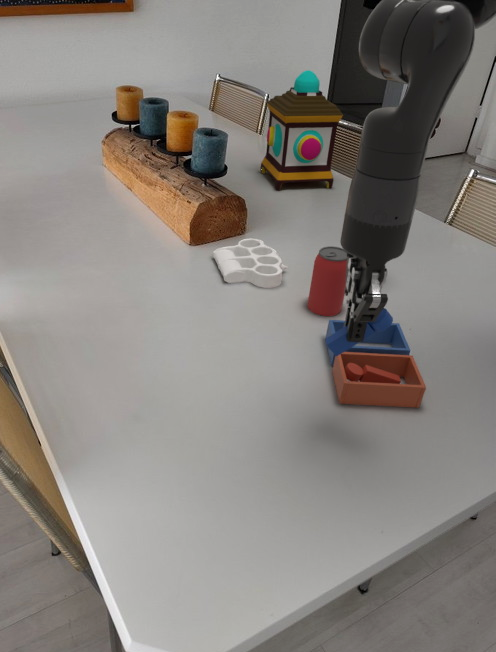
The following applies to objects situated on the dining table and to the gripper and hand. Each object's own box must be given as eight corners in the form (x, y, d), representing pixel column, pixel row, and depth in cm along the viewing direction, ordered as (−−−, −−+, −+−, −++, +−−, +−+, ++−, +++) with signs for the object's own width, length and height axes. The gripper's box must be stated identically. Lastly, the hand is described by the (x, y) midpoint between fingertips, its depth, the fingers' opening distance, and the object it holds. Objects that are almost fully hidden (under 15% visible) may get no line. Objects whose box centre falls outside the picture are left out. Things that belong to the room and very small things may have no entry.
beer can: (299, 306, 106) (308, 249, 99) (324, 298, 109) (334, 242, 102) (323, 322, 102) (334, 263, 95) (348, 312, 105) (360, 255, 98)
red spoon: (390, 383, 87) (398, 372, 86) (394, 395, 85) (402, 384, 84) (341, 368, 85) (348, 356, 84) (344, 379, 83) (351, 367, 82)
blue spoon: (337, 359, 73) (327, 348, 72) (334, 347, 75) (324, 336, 74) (395, 323, 70) (385, 311, 68) (390, 312, 72) (381, 300, 71)
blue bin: (393, 344, 97) (399, 323, 94) (403, 372, 91) (410, 350, 88) (324, 340, 97) (328, 319, 94) (330, 368, 91) (335, 346, 88)
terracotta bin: (405, 377, 90) (412, 355, 87) (418, 410, 83) (426, 387, 80) (331, 373, 90) (336, 351, 87) (338, 406, 83) (343, 383, 80)
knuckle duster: (209, 254, 123) (271, 250, 126) (227, 293, 109) (296, 288, 112) (210, 240, 121) (272, 236, 124) (228, 278, 107) (298, 273, 110)
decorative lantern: (338, 192, 159) (358, 77, 141) (273, 194, 155) (285, 77, 137) (314, 170, 175) (329, 64, 156) (254, 172, 171) (263, 63, 152)
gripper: (429, 235, 57) (392, 368, 67) (398, 190, 67) (370, 310, 78) (357, 233, 57) (332, 366, 67) (337, 188, 67) (318, 309, 78)
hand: (352, 336), depth 73 cm, fingers closed on blue spoon, 1 cm apart
